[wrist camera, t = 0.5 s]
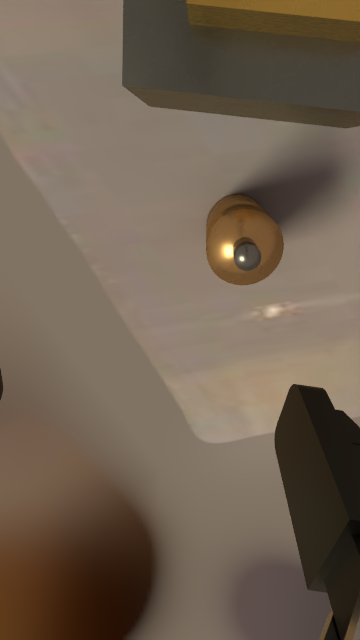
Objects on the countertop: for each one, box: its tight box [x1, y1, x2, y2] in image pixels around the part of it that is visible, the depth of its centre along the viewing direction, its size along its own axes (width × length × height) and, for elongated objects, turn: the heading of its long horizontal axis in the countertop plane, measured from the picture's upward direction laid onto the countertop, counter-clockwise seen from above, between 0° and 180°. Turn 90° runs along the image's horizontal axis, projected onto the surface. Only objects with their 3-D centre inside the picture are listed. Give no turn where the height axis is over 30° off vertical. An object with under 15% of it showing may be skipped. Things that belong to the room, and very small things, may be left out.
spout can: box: [206, 194, 284, 285], centre depth 24 cm, size 5×5×10 cm
